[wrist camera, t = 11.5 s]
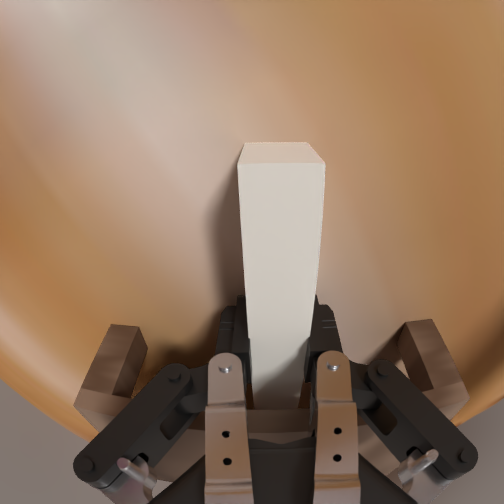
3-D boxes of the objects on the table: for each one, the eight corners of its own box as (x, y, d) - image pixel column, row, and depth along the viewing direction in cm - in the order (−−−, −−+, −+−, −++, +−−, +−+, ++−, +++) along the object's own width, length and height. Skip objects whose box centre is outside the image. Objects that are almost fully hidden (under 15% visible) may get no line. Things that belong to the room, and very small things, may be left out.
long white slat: (374, 145, 10) (413, 169, 7) (313, 434, 23) (315, 465, 20) (174, 147, 11) (141, 171, 8) (230, 435, 24) (228, 466, 21)
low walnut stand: (431, 318, 15) (470, 398, 10) (374, 420, 22) (385, 475, 17) (111, 324, 16) (73, 405, 11) (166, 423, 23) (154, 478, 18)
